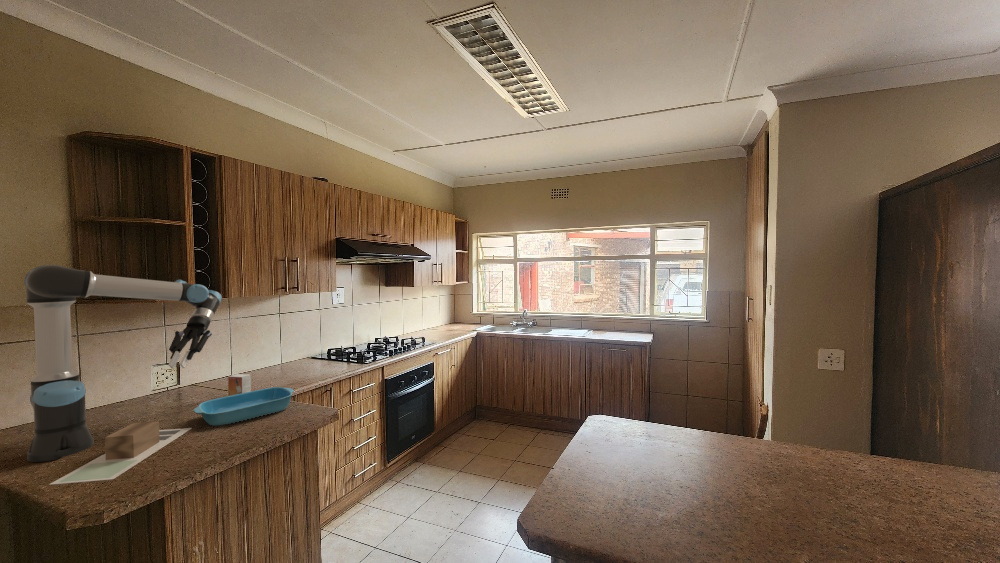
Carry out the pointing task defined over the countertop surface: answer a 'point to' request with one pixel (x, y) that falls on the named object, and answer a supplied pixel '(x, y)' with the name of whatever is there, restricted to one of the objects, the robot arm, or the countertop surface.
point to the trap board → (116, 462)
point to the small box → (239, 384)
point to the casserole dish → (244, 405)
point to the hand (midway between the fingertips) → (176, 366)
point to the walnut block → (131, 440)
